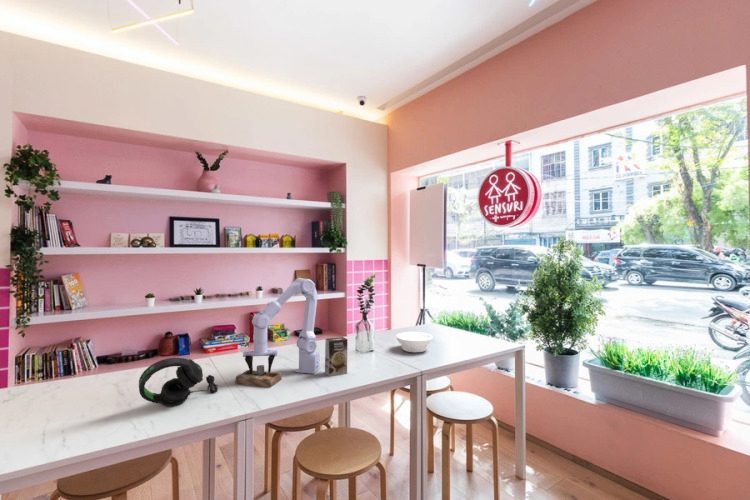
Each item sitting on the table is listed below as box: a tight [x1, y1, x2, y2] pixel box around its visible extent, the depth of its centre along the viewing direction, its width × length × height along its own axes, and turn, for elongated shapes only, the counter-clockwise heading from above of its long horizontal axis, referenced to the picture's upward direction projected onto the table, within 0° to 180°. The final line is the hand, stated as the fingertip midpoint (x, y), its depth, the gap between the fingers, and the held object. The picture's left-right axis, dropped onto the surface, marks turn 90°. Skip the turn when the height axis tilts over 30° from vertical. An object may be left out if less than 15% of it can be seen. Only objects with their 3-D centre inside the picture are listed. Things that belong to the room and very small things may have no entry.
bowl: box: [395, 331, 434, 353], centre depth 201 cm, size 21×21×8 cm
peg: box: [256, 364, 265, 376], centre depth 152 cm, size 3×3×6 cm
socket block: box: [235, 369, 282, 388], centre depth 151 cm, size 17×9×3 cm, turn 77°
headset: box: [138, 357, 219, 408], centre depth 131 cm, size 18×14×29 cm
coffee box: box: [324, 336, 348, 377], centre depth 162 cm, size 9×6×16 cm
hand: (260, 372), depth 152 cm, fingers open, 7 cm apart
